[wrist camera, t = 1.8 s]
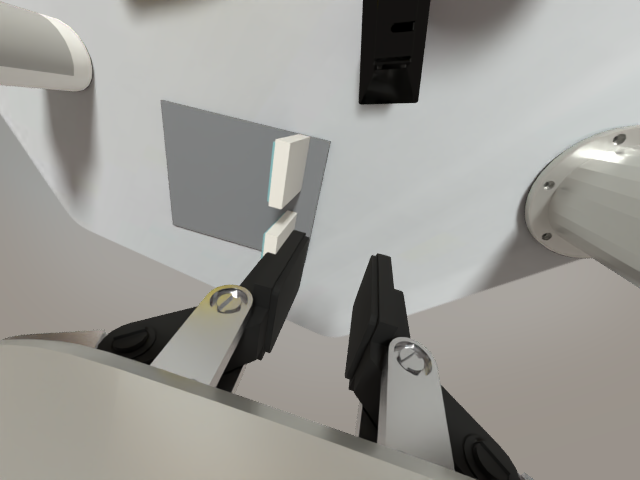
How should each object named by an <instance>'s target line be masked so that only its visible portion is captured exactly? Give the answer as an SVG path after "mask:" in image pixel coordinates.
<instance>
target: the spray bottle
mask: <svg viewBox="0 0 640 480" xmlns="http://www.w3.org/2000/svg"><path fill="white" fill-rule="evenodd" d="M91 79H92V65H91V60H90V56H89V54H88V51H87V49H86V47H85V45H84V43H83V42H82V40H81V39H80V37H79V36H78V35H77V34H76V33H75V32H74V31H73V30H72V28H71V27H69V26H68V25H66V24H65V23H63V22H62V21H60V20H59V19H56V18H52V17H49V16H46V15H43V14H39V13H36V12H33V11H30V10H26V9H23V8H20V7H17V6H13V5H10V4H7V3H4V2H1V1H0V85H6V86H17V87H29V88H40V89H52V90H64V91H75V92H76V91H81V90H84V89H85V88H86V87H88V86H89V84H90V82H91Z"/></svg>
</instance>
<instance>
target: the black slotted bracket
mask: <svg viewBox="0 0 640 480" xmlns="http://www.w3.org/2000/svg"><path fill="white" fill-rule="evenodd" d="M429 7H430V0H363V13H362V37H361V62H360V86H359V104H392V103H416V102H418V97H419V89H420V81H421V73H422V65H423V57H424V48H425V40H426V32H427V24H428V16H429Z"/></svg>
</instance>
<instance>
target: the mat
mask: <svg viewBox="0 0 640 480" xmlns="http://www.w3.org/2000/svg"><path fill="white" fill-rule="evenodd" d="M161 108H162V119H163V129H164V139H165V149H166V159H167V169H168V180H169V190H170V200H171V210H172V220H173V225H176V226H179V227H183V228H186V229H189V230H193V231H196V232H200V233H203V234H207V235H210V236H213V237H217V238H220V239H224V240H227V241H230V242H234V243H237V244H241V245H244V246H248V247H251V248H254V249H258V250H261V251H262V244H263V234H264V233H265V232H266V231H267V230H268V229H269V228H270V227H271V226H272V225H273V224H274V223H275V222H276V221H277V219H278V218H279V217H280V216H281V215H282V214H283V213H285V212H286V211H287V210H288V211H292V212H296V213H297V218H296V223H295V229H294V230H297V231H300V232H304V233H306V237H309V241H310V237H311V232H312V227H313V223H314V218H315V213H316V208H317V204H318V199H319V194H320V189H321V185H322V180H323V175H324V171H325V166H326V161H327V156H328V152H329V147H330V142H331V141H327V140H322V139H318V138H314V137H310V136H308V137H310V142H309V148H308V154H307V159H306V165H305V171H304V177H303V183H302V189H301V191H300V192H299V193H298V194H297V195H296V196H295V197H294V198H293V199H292V200H291V201H290V202H289V203H288V204H287V205H286V206H284V207H283V208H282V209H278V208H274V207H270V206H268V205H269V202H268V201H267V196H268V187H269V177H270V167H271V158H272V148H273V142H275V140H276V139H279V138H283V137H288V136H293V135H297V134H298V133H294V132H290V131H286V130H282V129H278V128H274V127H270V126H266V125H262V124H258V123H254V122H250V121H246V120H242V119H237V118H233V117H229V116H225V115H221V114H217V113H213V112H209V111H205V110H201V109H197V108H193V107H189V106H185V105H181V104H177V103H173V102H169V101H165V100H161ZM300 135H302V134H300ZM304 136H306V135H304ZM308 246H309V244H308ZM307 251H308V249H307ZM306 256H307V253H306ZM305 260H306V258H305Z"/></svg>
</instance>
